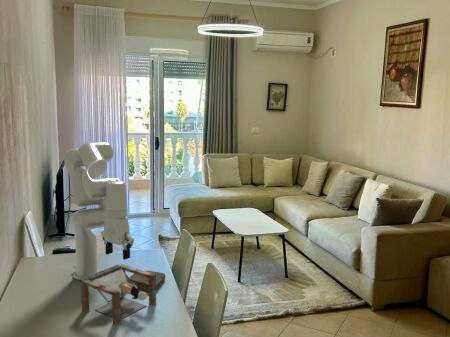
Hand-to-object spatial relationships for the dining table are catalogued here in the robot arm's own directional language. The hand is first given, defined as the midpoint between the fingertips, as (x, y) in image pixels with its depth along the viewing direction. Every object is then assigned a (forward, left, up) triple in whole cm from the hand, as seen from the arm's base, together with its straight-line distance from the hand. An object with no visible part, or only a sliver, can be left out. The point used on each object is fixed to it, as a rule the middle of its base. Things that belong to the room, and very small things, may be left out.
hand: (117, 256), depth 167 cm
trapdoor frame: (0, 0, -21) cm, 21 cm away
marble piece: (-7, +22, -22) cm, 32 cm away
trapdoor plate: (-4, 0, -12) cm, 13 cm away
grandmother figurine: (+2, 0, -12) cm, 12 cm away
